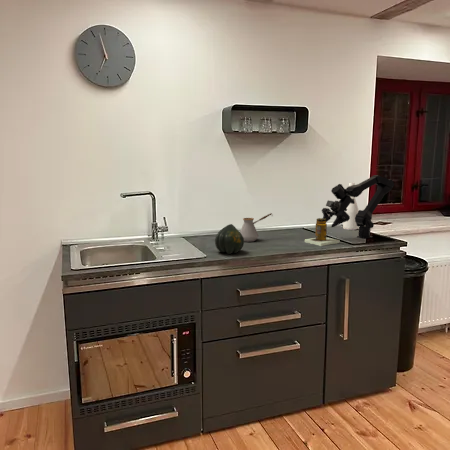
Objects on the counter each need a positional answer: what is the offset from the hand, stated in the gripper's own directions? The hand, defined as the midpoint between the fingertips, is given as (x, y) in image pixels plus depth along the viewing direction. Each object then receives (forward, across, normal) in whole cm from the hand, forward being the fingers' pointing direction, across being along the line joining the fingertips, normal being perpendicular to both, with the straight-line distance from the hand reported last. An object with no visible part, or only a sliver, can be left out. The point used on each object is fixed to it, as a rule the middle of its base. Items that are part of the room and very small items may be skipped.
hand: (326, 225), depth 245 cm
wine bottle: (-21, -27, +35) cm, 49 cm away
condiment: (+9, 0, +2) cm, 9 cm away
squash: (+48, -4, -35) cm, 59 cm away
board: (+8, 0, +5) cm, 10 cm away
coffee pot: (+28, -25, -15) cm, 41 cm away
